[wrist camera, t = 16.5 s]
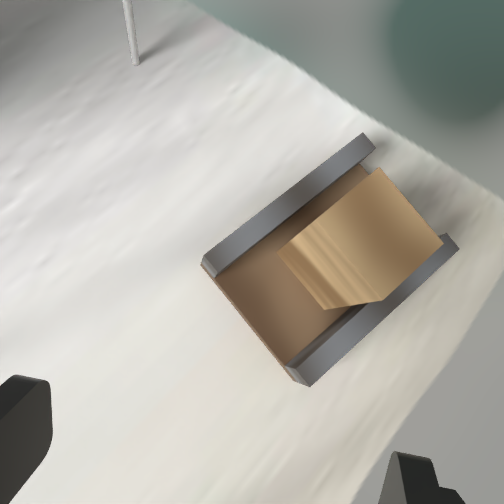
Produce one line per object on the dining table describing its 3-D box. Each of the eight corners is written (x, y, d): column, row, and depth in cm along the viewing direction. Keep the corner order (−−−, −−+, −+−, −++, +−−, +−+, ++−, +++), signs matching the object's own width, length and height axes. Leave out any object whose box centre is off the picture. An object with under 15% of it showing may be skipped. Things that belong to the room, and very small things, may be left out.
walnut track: (293, 380, 27) (310, 387, 24) (200, 264, 28) (203, 255, 24) (427, 258, 30) (459, 249, 27) (342, 154, 30) (362, 132, 27)
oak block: (324, 309, 27) (382, 300, 20) (276, 252, 27) (315, 219, 20) (370, 268, 28) (444, 243, 20) (323, 212, 28) (379, 166, 21)
